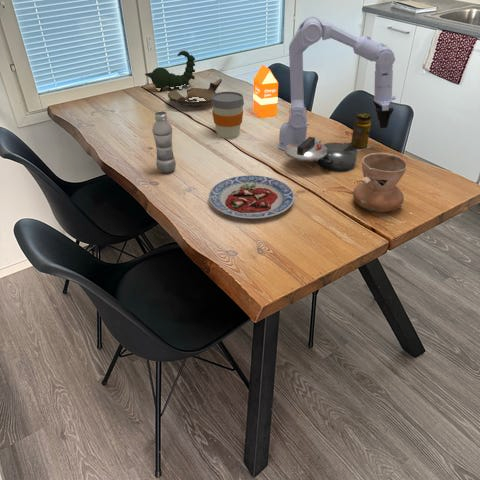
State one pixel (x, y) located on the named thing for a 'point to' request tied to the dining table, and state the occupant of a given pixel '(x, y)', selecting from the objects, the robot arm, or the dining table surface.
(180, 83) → the toy figurine
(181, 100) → the oil lamp
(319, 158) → the cooker lid
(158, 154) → the plastic bottle
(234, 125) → the reusable coffee cup
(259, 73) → the orange juice
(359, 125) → the condiment
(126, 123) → the dining table surface
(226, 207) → the ceramic plate
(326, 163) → the cooker body
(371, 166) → the brown clay hourglass vessel
